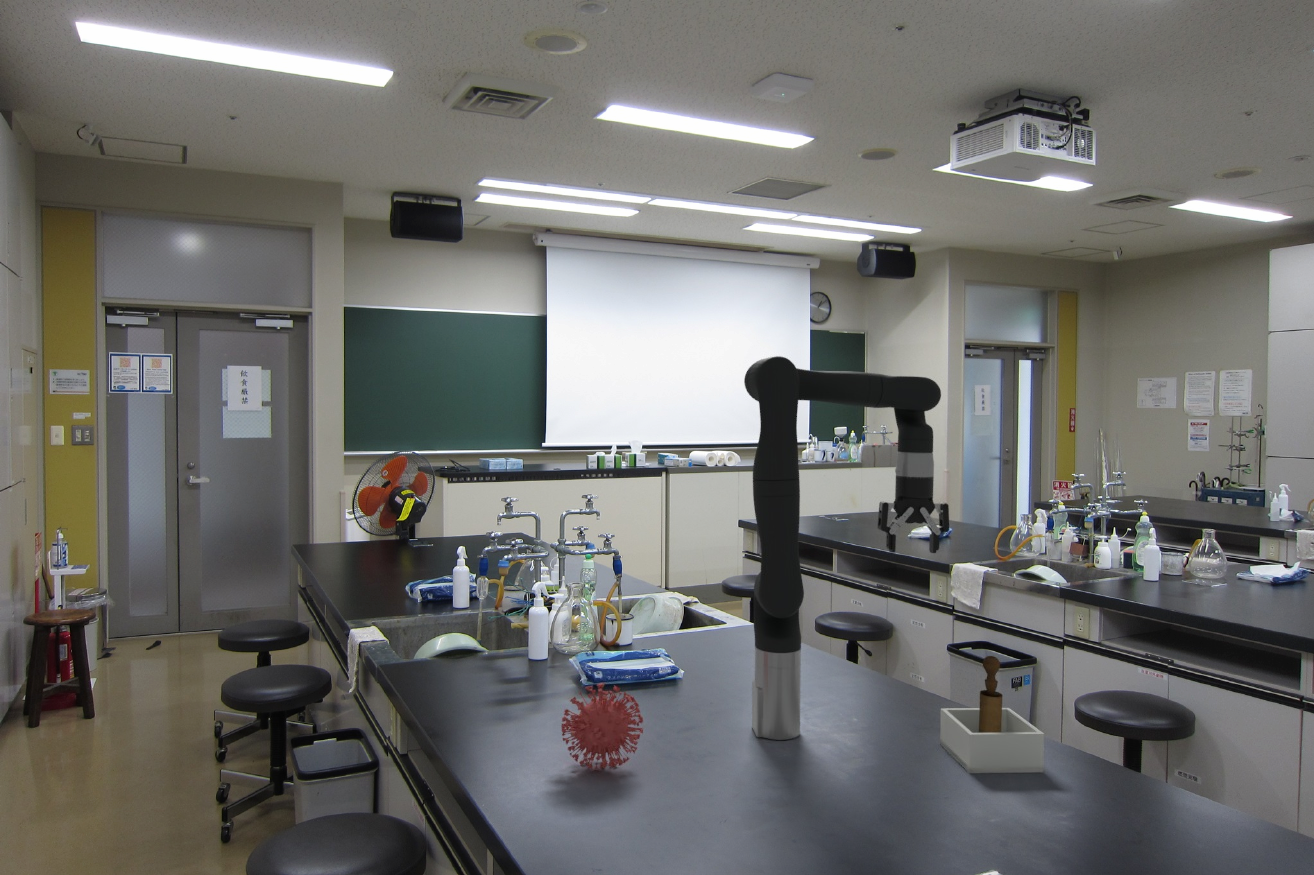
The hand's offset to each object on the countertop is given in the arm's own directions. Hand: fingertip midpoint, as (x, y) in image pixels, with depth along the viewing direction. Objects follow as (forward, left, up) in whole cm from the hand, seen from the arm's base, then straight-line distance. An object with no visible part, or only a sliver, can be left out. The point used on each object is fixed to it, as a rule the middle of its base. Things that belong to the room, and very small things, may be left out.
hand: (912, 552), depth 176 cm
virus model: (-64, -20, -36) cm, 76 cm away
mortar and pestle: (+9, -18, -35) cm, 40 cm away
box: (+9, -18, -36) cm, 41 cm away
